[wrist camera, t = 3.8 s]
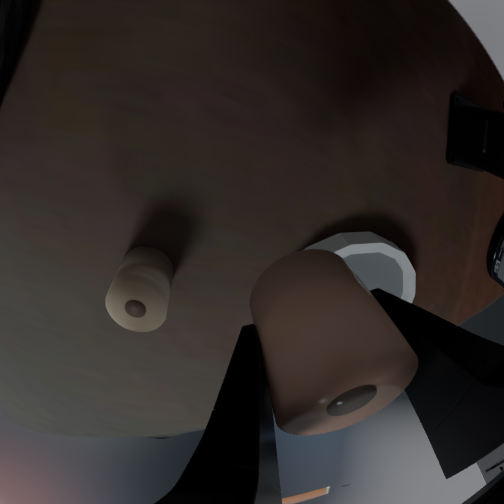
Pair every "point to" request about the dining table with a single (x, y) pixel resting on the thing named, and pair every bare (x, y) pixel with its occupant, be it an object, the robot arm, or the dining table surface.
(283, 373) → the terracotta bead
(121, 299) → the maple bead
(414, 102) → the dining table surface
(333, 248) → the ring tray
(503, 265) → the supplement container
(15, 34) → the cable lock
